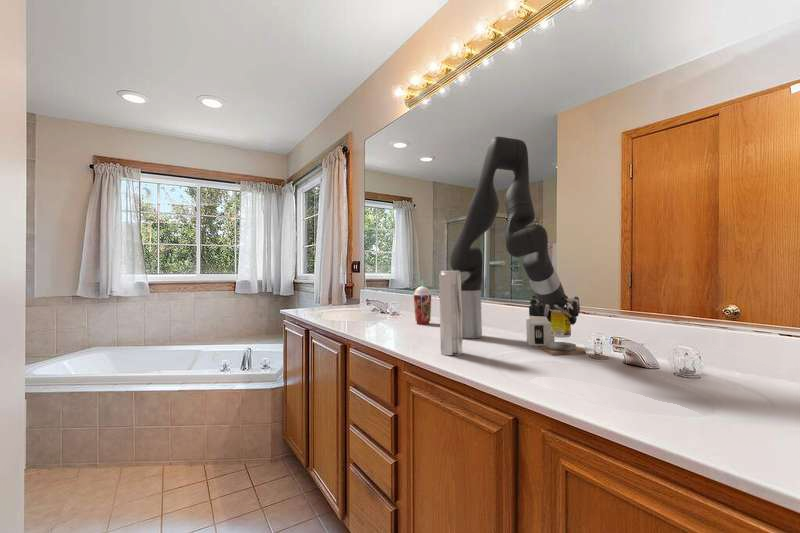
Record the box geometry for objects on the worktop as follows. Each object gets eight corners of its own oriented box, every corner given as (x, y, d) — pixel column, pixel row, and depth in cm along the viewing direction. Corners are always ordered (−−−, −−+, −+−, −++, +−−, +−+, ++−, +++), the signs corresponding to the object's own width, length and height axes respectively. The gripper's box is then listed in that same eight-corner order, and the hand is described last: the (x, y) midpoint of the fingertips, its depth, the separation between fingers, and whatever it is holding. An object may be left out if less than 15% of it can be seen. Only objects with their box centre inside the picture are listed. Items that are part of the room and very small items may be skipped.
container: (554, 346, 124) (553, 305, 124) (529, 346, 126) (528, 305, 126) (550, 342, 132) (549, 303, 132) (526, 341, 133) (525, 303, 133)
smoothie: (432, 324, 176) (431, 280, 176) (414, 325, 176) (413, 280, 176) (431, 322, 184) (430, 279, 184) (413, 322, 185) (412, 280, 185)
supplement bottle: (567, 338, 113) (566, 303, 113) (548, 336, 117) (547, 302, 117) (573, 336, 117) (573, 302, 118) (555, 334, 121) (554, 301, 121)
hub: (551, 355, 112) (551, 348, 112) (538, 348, 122) (538, 341, 122) (586, 354, 113) (585, 347, 113) (569, 347, 123) (569, 340, 123)
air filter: (464, 351, 119) (462, 270, 119) (460, 356, 113) (458, 270, 113) (443, 350, 122) (441, 270, 122) (438, 355, 115) (436, 270, 115)
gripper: (575, 274, 107) (590, 313, 116) (525, 274, 117) (543, 310, 125) (568, 294, 103) (585, 333, 112) (517, 293, 113) (536, 329, 122)
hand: (562, 321), depth 119 cm, fingers closed on supplement bottle, 5 cm apart
